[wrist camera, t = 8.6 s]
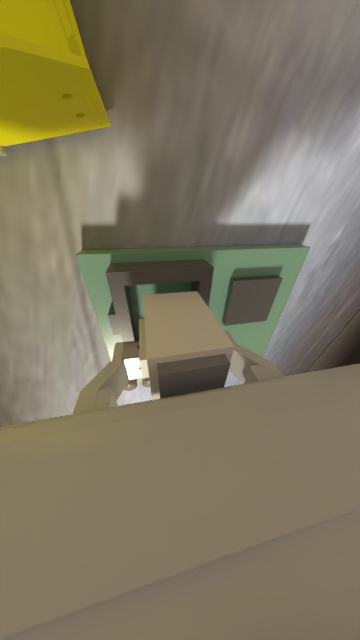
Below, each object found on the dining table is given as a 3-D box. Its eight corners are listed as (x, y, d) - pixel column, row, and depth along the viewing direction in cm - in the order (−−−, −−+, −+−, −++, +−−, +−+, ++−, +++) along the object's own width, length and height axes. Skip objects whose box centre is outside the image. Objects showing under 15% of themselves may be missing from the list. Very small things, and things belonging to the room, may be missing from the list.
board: (298, 244, 16) (335, 253, 13) (254, 355, 26) (270, 376, 22) (81, 250, 13) (63, 264, 10) (120, 375, 22) (117, 403, 19)
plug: (197, 291, 12) (241, 356, 7) (192, 340, 15) (221, 413, 10) (135, 295, 12) (134, 372, 6) (143, 347, 14) (146, 429, 9)
